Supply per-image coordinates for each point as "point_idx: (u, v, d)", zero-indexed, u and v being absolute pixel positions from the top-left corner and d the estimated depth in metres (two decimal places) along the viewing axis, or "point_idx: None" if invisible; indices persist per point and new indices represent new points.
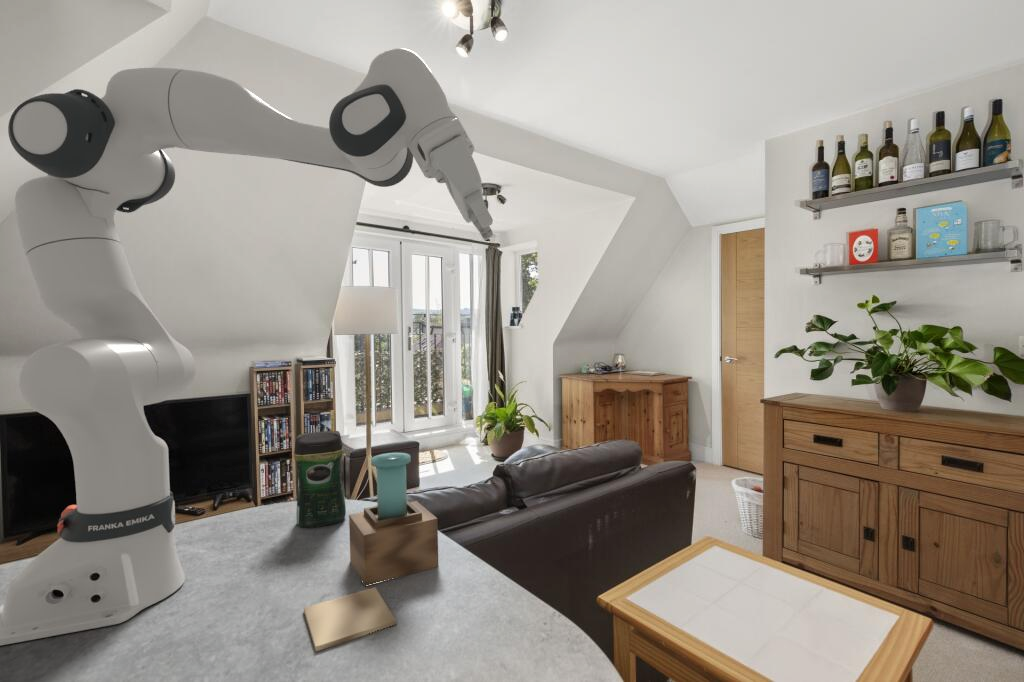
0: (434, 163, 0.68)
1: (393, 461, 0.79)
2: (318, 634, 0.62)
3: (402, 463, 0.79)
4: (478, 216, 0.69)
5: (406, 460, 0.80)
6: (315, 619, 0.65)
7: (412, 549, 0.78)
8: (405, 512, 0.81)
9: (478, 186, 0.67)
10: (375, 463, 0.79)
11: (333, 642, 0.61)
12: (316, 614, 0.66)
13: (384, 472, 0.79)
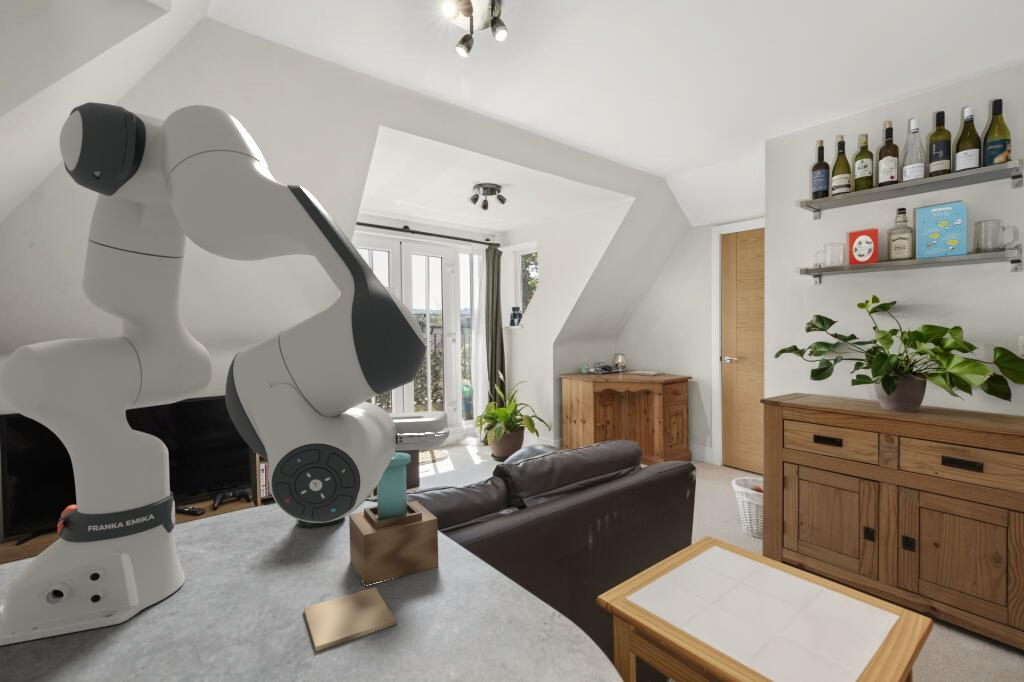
0: None
1: (393, 461, 0.79)
2: (318, 634, 0.62)
3: (402, 463, 0.79)
4: None
5: (406, 460, 0.80)
6: (315, 619, 0.65)
7: (412, 549, 0.78)
8: (405, 512, 0.81)
9: None
10: None
11: (333, 642, 0.61)
12: (316, 614, 0.66)
13: (384, 472, 0.79)
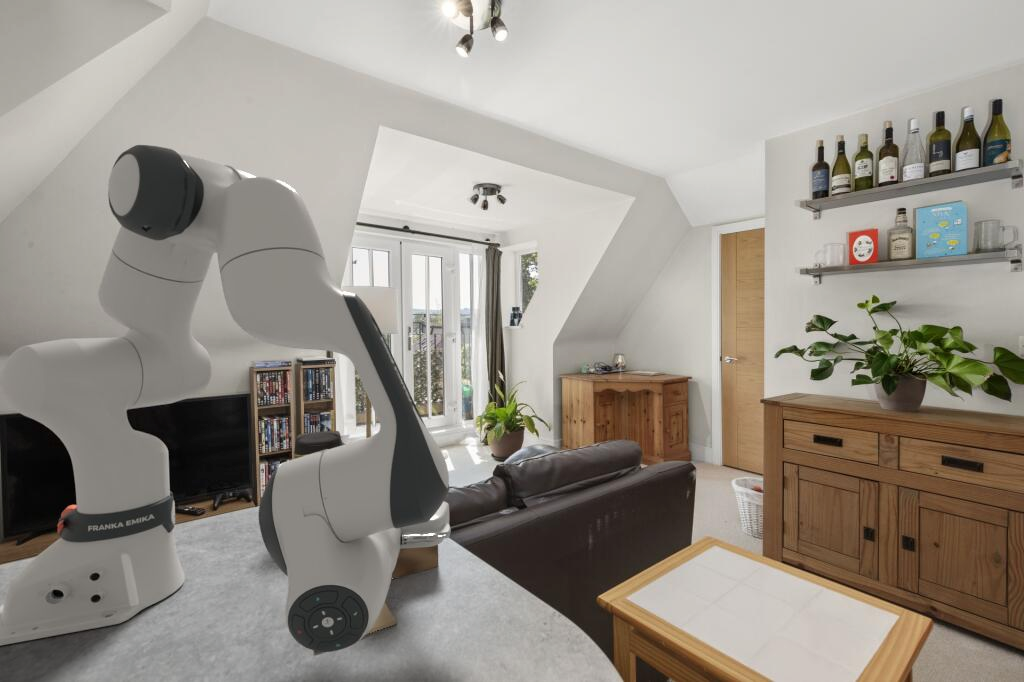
0: None
1: None
2: None
3: None
4: None
5: None
6: None
7: (412, 549, 0.78)
8: None
9: None
10: None
11: None
12: None
13: None
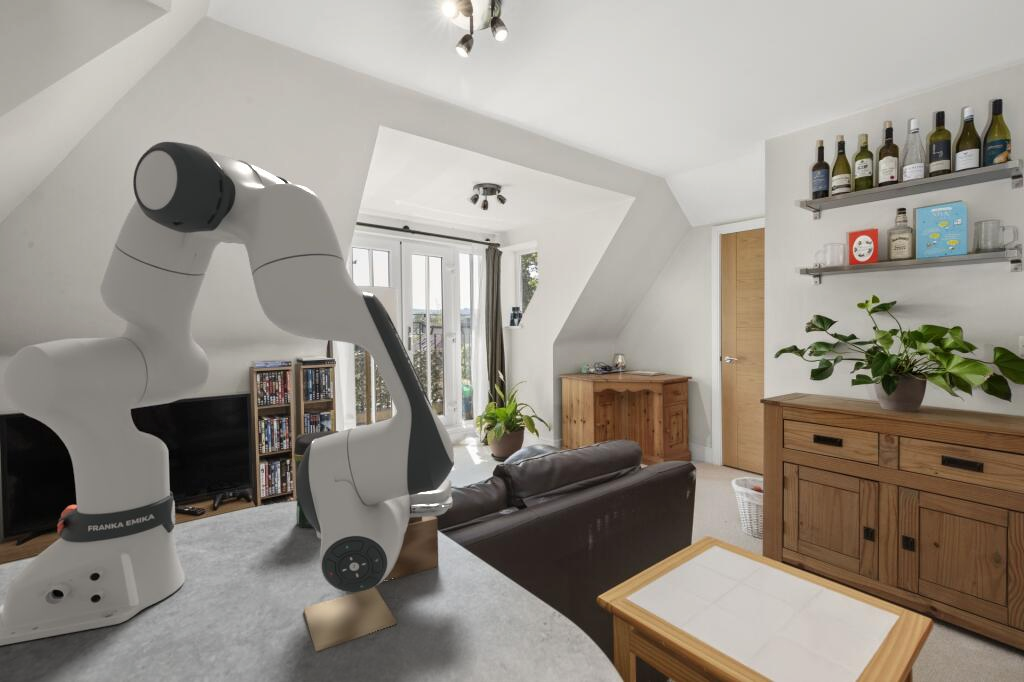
0: None
1: None
2: (318, 634, 0.62)
3: None
4: None
5: None
6: (315, 619, 0.65)
7: (412, 549, 0.78)
8: None
9: None
10: None
11: (333, 642, 0.61)
12: (316, 614, 0.66)
13: None
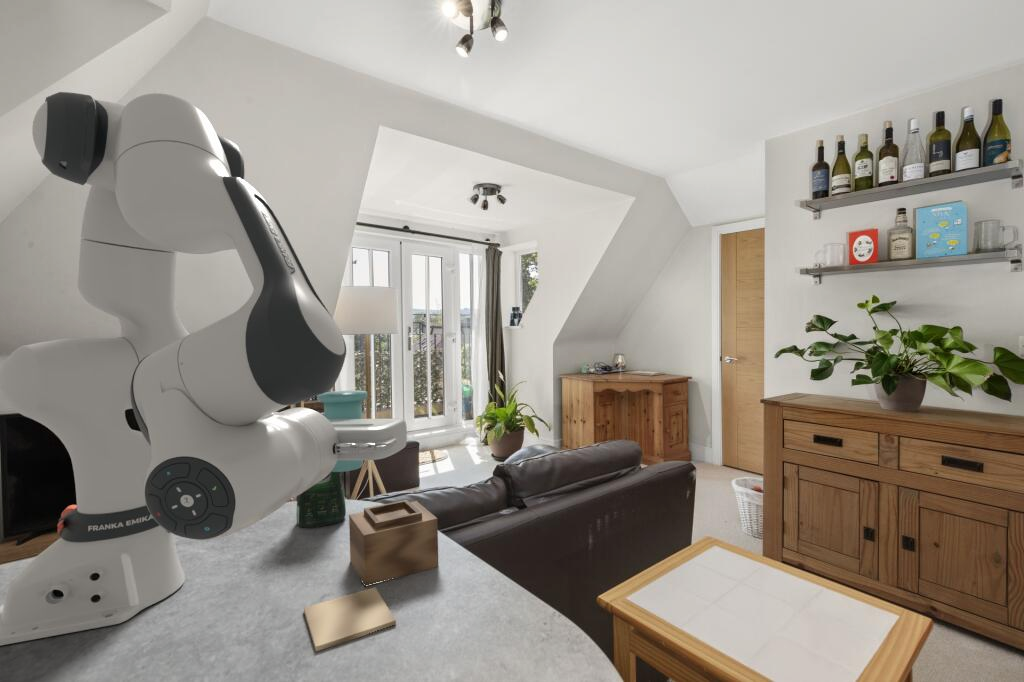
0: None
1: (339, 396, 0.63)
2: (318, 634, 0.62)
3: (351, 399, 0.63)
4: None
5: (357, 396, 0.64)
6: (315, 619, 0.65)
7: (412, 549, 0.78)
8: (358, 462, 0.65)
9: None
10: (319, 398, 0.64)
11: (333, 642, 0.61)
12: (316, 614, 0.66)
13: (329, 409, 0.64)
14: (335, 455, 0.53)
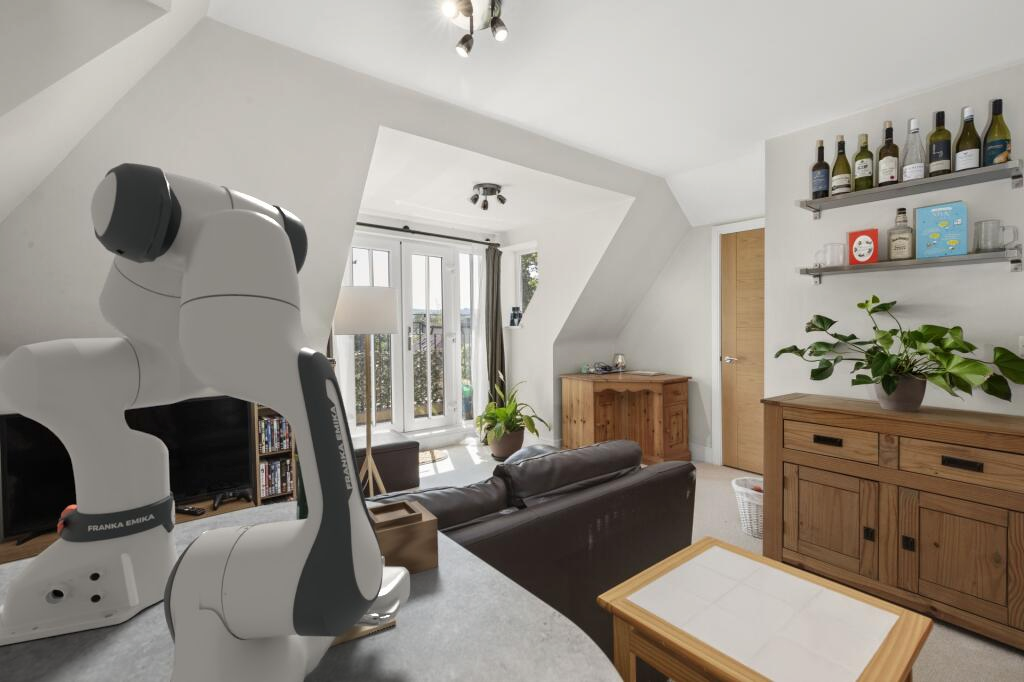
0: None
1: None
2: None
3: None
4: None
5: None
6: None
7: (412, 549, 0.78)
8: None
9: None
10: None
11: (333, 642, 0.61)
12: None
13: None
14: None
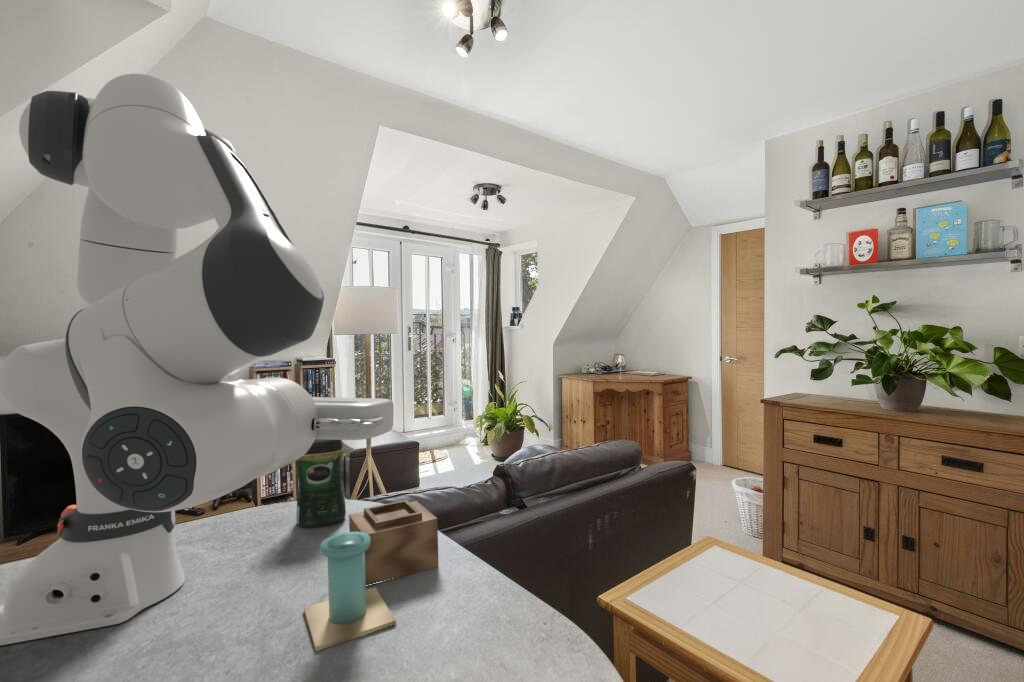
0: None
1: (343, 550, 0.63)
2: (318, 634, 0.62)
3: (354, 553, 0.64)
4: None
5: (360, 548, 0.64)
6: (315, 619, 0.65)
7: (412, 549, 0.78)
8: (361, 611, 0.65)
9: None
10: (322, 551, 0.64)
11: (333, 642, 0.61)
12: (316, 614, 0.66)
13: (333, 562, 0.64)
14: (313, 432, 0.47)
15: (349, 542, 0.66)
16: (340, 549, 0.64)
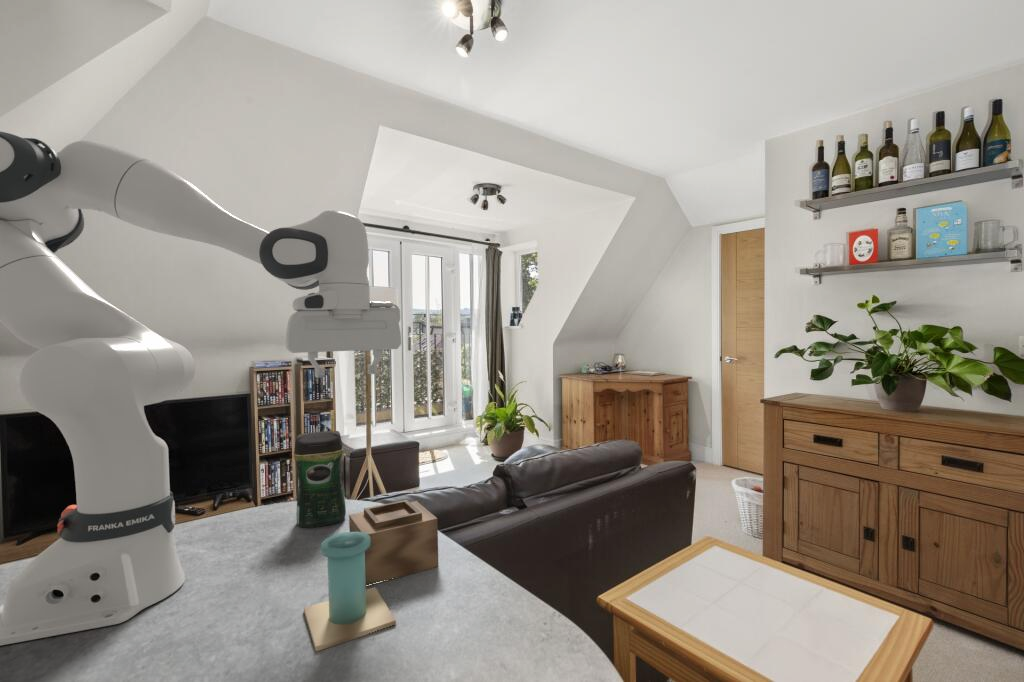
0: None
1: (343, 550, 0.63)
2: (318, 634, 0.62)
3: (354, 553, 0.64)
4: None
5: (360, 548, 0.64)
6: (315, 619, 0.65)
7: (412, 549, 0.78)
8: (361, 611, 0.65)
9: (300, 352, 0.85)
10: (322, 551, 0.64)
11: (333, 642, 0.61)
12: (316, 614, 0.66)
13: (333, 562, 0.64)
14: (369, 305, 0.91)
15: (349, 542, 0.66)
16: (340, 549, 0.64)
